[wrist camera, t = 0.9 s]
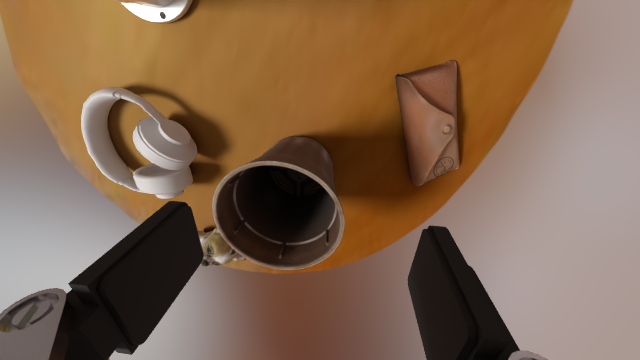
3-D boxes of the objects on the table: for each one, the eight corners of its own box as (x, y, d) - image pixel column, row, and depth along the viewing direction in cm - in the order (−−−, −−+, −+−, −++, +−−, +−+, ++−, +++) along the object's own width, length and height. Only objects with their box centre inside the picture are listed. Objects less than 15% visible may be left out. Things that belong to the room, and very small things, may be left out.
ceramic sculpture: (158, 249, 44) (232, 238, 42) (184, 220, 52) (248, 210, 50) (185, 286, 49) (253, 278, 47) (205, 255, 57) (264, 247, 55)
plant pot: (290, 101, 37) (254, 130, 23) (364, 162, 41) (373, 220, 27) (241, 170, 44) (191, 225, 30) (308, 217, 48) (292, 286, 34)
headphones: (212, 120, 40) (109, 69, 40) (177, 131, 33) (54, 70, 33) (198, 201, 48) (114, 159, 49) (168, 223, 41) (70, 174, 42)
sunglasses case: (463, 170, 40) (454, 191, 35) (420, 169, 44) (408, 188, 40) (456, 54, 32) (444, 64, 28) (405, 68, 37) (388, 78, 32)
